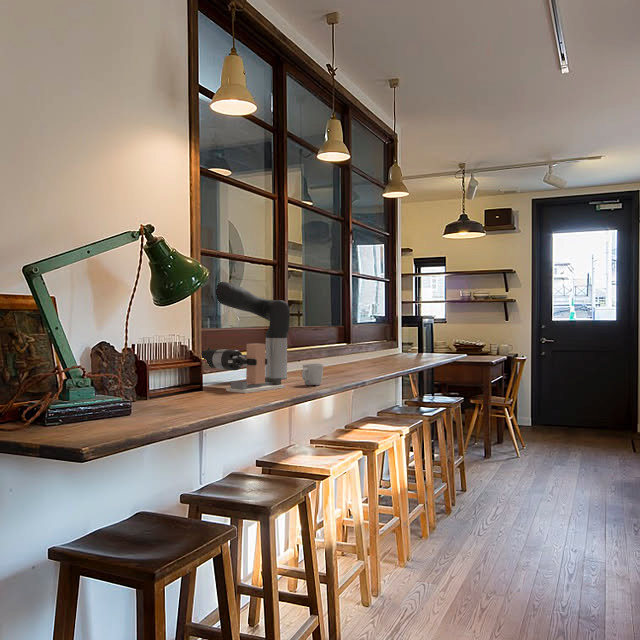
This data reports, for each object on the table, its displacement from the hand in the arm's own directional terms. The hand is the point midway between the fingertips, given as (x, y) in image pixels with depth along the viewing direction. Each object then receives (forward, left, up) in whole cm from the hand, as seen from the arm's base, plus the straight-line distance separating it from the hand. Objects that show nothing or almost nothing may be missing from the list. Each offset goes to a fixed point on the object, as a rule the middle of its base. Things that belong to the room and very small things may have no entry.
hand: (261, 361), depth 214 cm
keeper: (-1, -2, -8) cm, 8 cm away
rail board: (-1, -2, -10) cm, 10 cm away
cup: (-19, +14, -10) cm, 26 cm away
